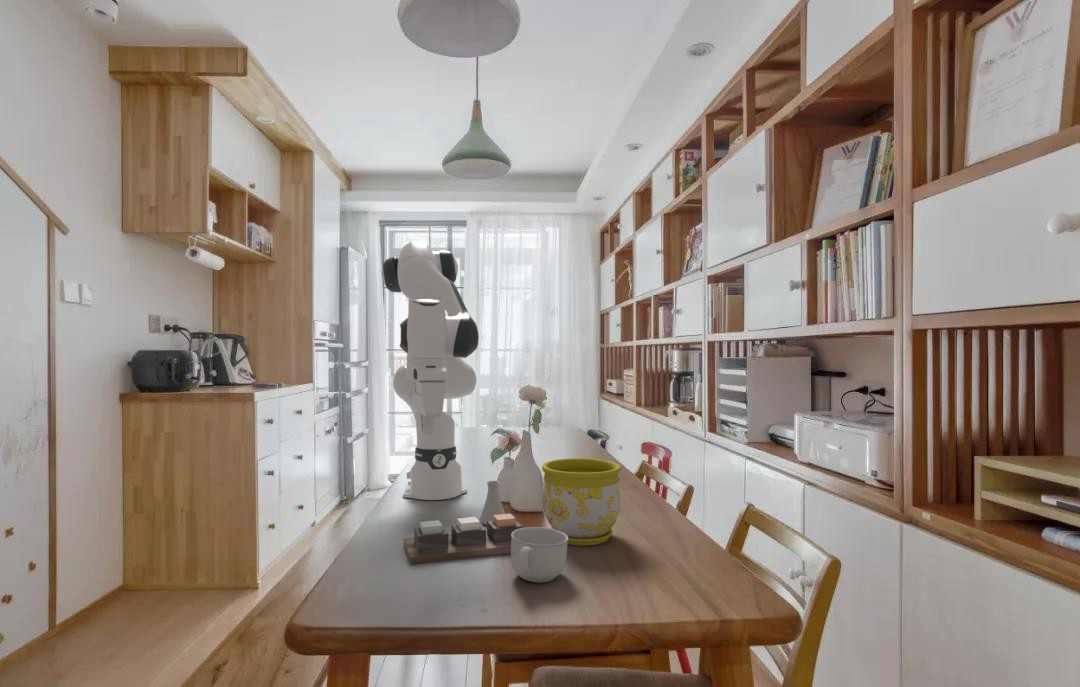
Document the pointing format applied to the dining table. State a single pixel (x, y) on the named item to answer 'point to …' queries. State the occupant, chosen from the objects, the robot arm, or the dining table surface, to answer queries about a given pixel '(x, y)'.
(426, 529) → the sage button
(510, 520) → the terracotta button
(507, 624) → the dining table surface
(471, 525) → the cream button
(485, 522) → the flask
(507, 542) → the button console
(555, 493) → the flowerpot
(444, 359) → the robot arm
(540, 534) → the teacup
